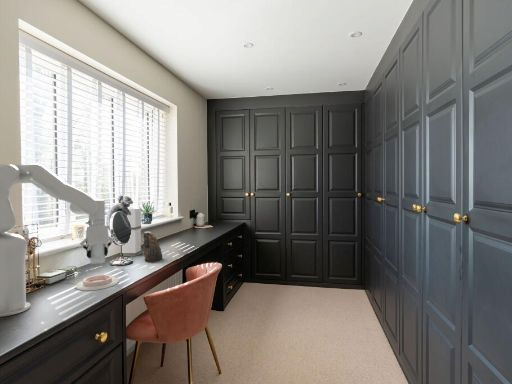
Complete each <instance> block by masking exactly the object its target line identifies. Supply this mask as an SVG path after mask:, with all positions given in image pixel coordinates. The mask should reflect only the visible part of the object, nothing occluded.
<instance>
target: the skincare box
mask: <svg viewBox="0 0 512 384" xmlns="http://www.w3.org/2000/svg"><path fill="white" fill-rule="evenodd" d="M90 251H91V258H89V260H90V262H89V263H90V264H91V265H92V264H103V263H106V256H105V246H104V244H102V240H99V245H94V246H91V248H90Z"/></svg>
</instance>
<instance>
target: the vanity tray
mask: <svg viewBox="0 0 512 384" xmlns="http://www.w3.org/2000/svg"><path fill="white" fill-rule="evenodd" d="M119 281H120V280H119V278H117V277H115V276H114V277H113V276H112V275H111V274H110V275H109V274H96V275H92V276H87V277H84V278H83V280H81V281H79V282H78V283H76V284H75V285H74V286H75V288H74V289H76V290H78V291H82V292H84V291H85V292H90V291H98V290H104V289H108V288H112V287H114V286H116V285H118V284H119Z"/></svg>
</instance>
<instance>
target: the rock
mask: <svg viewBox="0 0 512 384" xmlns="http://www.w3.org/2000/svg"><path fill="white" fill-rule="evenodd" d="M143 239H144V241H143V247H142V250H143V255H144V262H145V263H155V262H158V261H161V260H164V258H163V254H162V249H161V247H160V243H159V242H158V239H157V236H155V235H154V233H152V232H151V231H150V230H148V231H144V232H143Z"/></svg>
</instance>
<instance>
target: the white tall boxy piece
mask: <svg viewBox="0 0 512 384" xmlns="http://www.w3.org/2000/svg"><path fill="white" fill-rule="evenodd" d="M127 208H128V209H129V210H130V211H131V213H132V215H131V216H129V215H128V219H129V221H130V224H131V235H130V239H129V241H128V243H126V244H125V245H123V246H122V253H123V256H122V257H136V256H139V255H140V254H142V244H141V243H142V238H141V237H142V236H141V235H142V208H141V207H127Z"/></svg>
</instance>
